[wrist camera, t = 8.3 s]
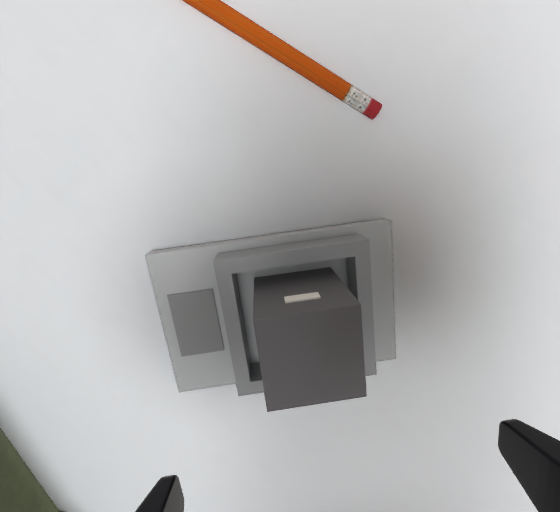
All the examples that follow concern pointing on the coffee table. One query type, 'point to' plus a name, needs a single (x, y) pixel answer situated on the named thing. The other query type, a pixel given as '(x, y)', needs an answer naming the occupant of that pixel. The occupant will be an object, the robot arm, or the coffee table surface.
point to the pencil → (287, 55)
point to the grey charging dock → (240, 292)
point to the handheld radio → (20, 483)
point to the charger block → (308, 339)
